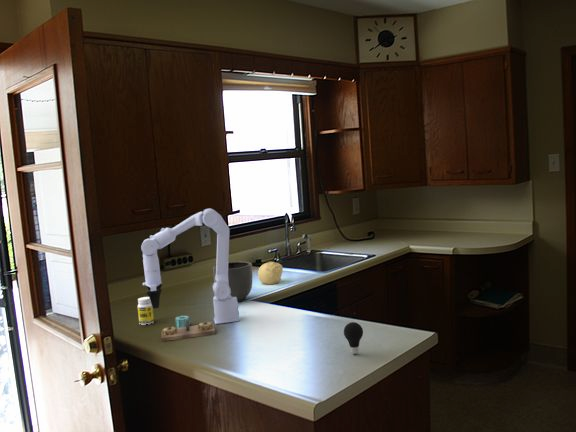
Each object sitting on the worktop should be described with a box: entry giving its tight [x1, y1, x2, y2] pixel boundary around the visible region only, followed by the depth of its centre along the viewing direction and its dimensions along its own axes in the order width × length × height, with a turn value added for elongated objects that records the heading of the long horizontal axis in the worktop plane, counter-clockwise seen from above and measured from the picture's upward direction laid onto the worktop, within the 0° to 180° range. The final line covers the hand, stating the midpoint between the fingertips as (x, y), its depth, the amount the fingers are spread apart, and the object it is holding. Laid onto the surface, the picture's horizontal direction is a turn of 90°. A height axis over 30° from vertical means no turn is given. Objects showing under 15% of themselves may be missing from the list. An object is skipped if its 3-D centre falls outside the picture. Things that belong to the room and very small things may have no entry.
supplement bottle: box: [137, 296, 155, 326], centre depth 220 cm, size 6×6×10 cm
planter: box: [212, 260, 253, 303], centre depth 244 cm, size 17×17×16 cm
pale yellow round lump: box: [257, 261, 284, 285], centre depth 273 cm, size 12×12×11 cm
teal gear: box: [174, 315, 191, 328], centre depth 212 cm, size 5×5×3 cm
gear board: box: [160, 320, 216, 342], centre depth 202 cm, size 19×10×5 cm, turn 103°
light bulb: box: [343, 321, 364, 355], centre depth 167 cm, size 6×6×10 cm
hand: (156, 305), depth 209 cm, fingers open, 7 cm apart
